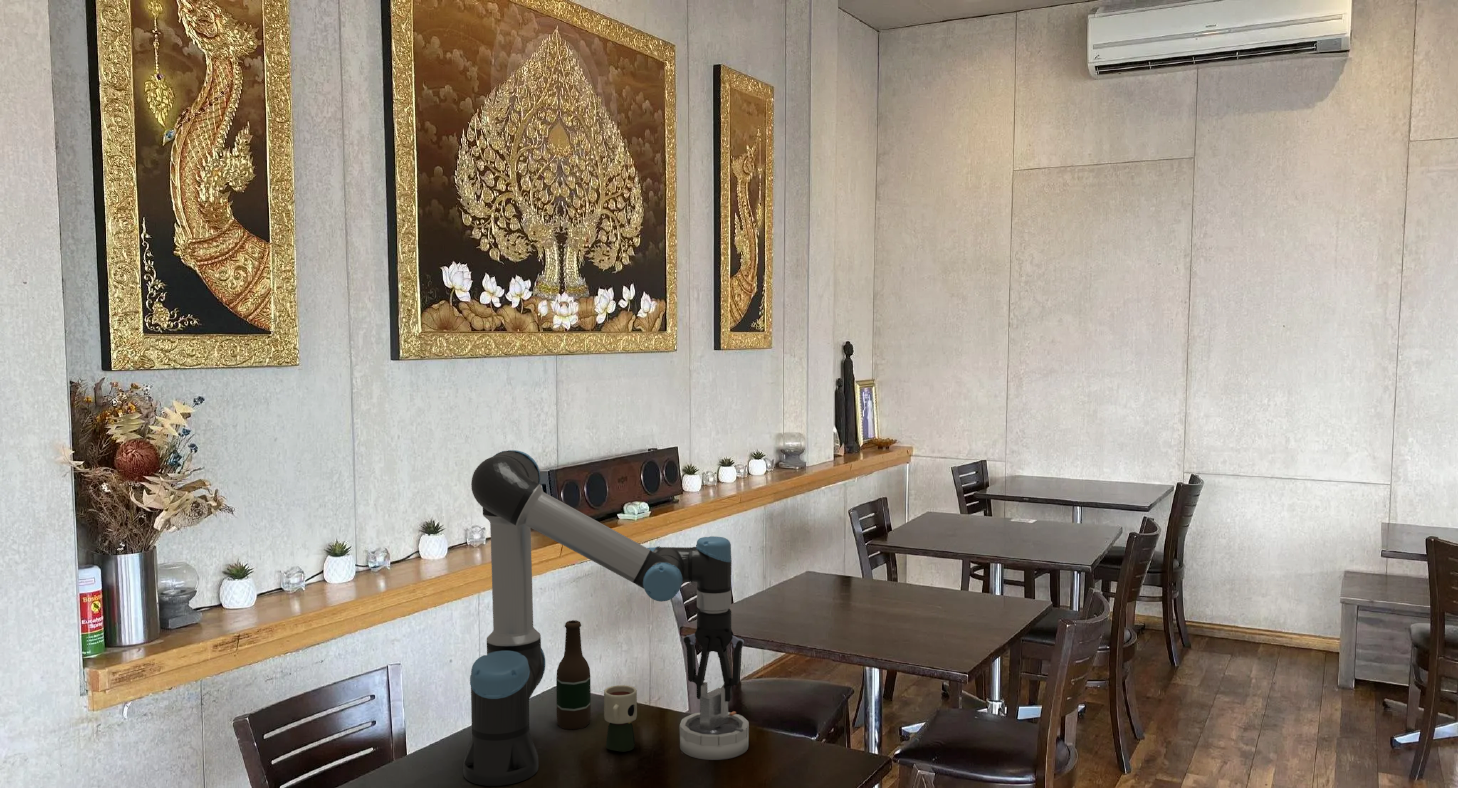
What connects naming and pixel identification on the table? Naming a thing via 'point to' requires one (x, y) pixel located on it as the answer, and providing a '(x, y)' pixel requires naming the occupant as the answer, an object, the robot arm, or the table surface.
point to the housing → (714, 740)
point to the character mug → (620, 716)
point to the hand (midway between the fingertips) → (714, 714)
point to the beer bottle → (573, 682)
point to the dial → (713, 716)
